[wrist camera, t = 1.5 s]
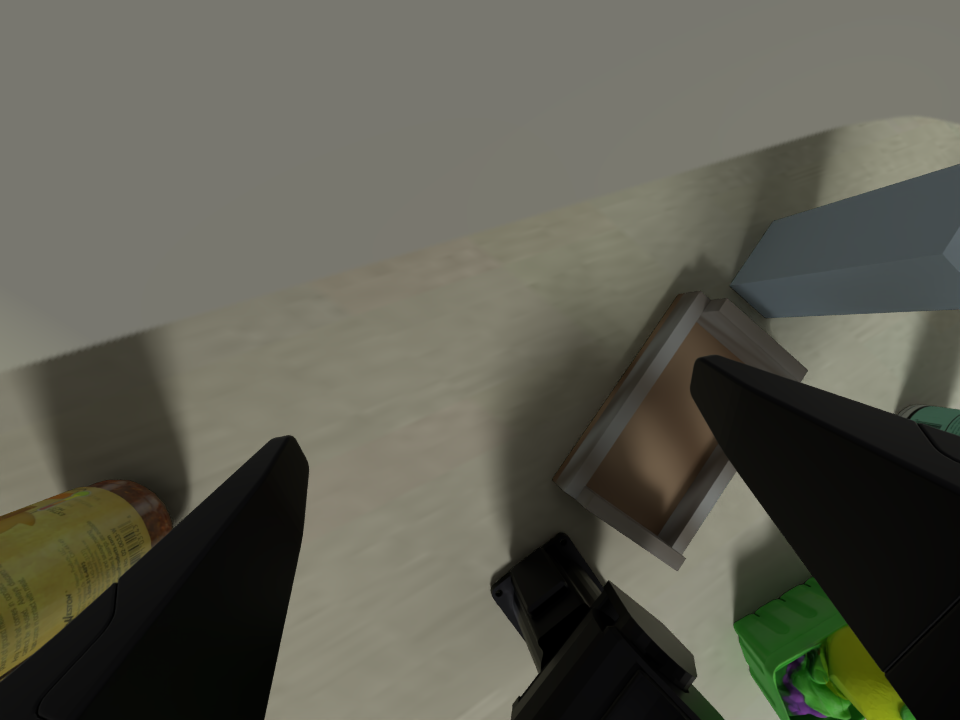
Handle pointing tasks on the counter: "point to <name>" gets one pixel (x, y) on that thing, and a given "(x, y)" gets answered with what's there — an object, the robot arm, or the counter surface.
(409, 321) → the counter surface
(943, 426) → the spray can
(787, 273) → the blue-grey rectangular block
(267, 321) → the counter surface
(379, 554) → the counter surface
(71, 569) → the sauce bottle
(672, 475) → the shallow grey tray
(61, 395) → the counter surface
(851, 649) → the fruit basket
